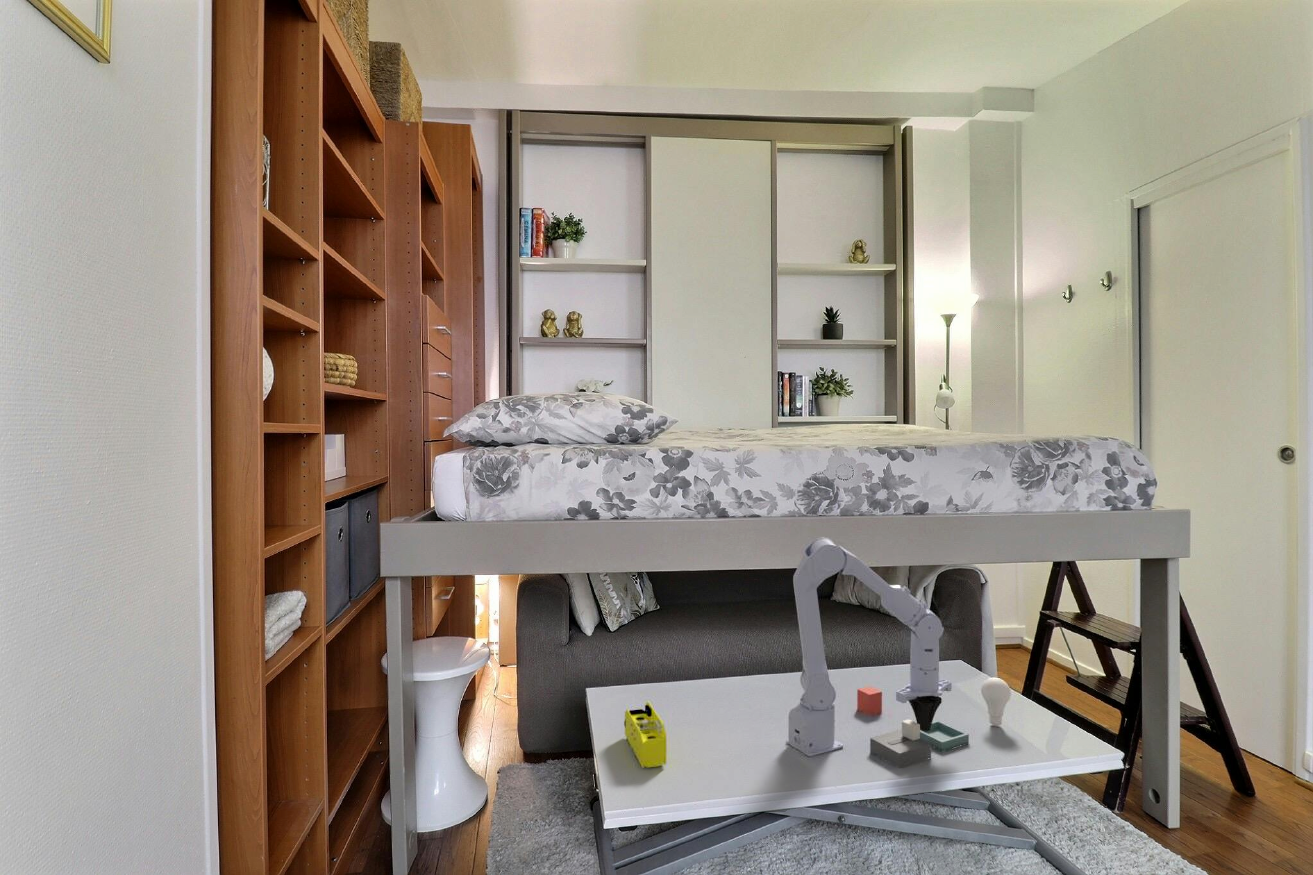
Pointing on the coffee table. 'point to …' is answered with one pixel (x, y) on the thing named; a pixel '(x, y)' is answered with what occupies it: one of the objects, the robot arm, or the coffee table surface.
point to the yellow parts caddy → (646, 736)
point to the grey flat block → (899, 749)
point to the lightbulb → (995, 698)
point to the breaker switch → (911, 729)
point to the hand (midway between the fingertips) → (923, 729)
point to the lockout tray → (944, 736)
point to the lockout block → (869, 700)
